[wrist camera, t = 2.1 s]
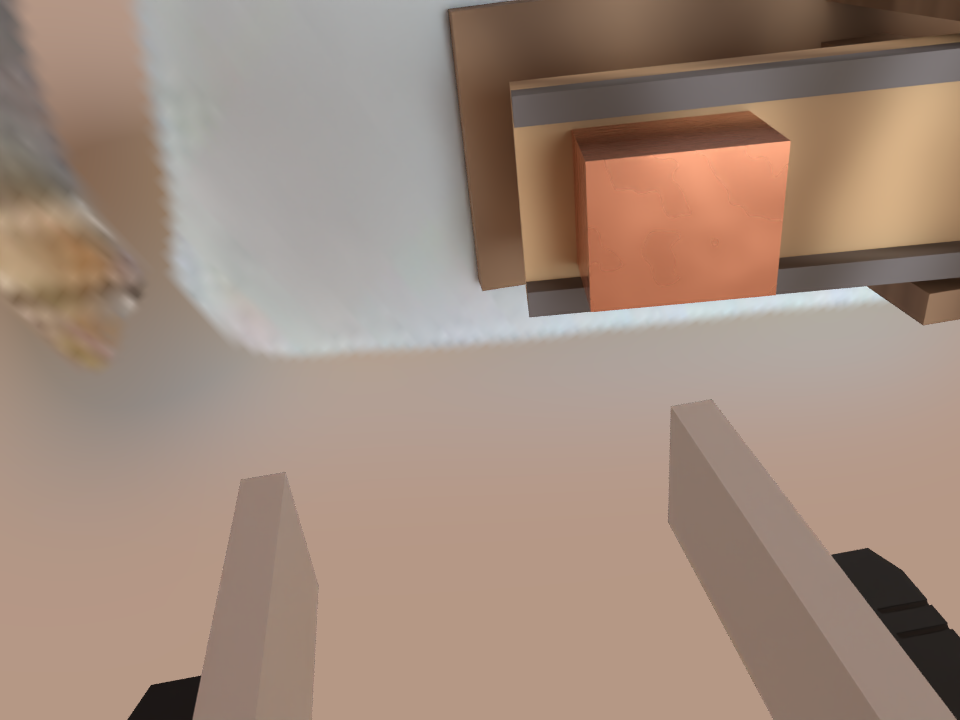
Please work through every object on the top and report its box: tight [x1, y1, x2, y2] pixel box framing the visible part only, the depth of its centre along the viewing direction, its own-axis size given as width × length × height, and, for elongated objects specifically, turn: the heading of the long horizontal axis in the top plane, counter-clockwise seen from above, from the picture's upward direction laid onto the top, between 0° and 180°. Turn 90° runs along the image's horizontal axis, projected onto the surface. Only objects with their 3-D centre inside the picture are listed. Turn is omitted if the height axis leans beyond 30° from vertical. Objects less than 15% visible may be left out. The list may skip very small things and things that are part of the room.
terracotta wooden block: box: [571, 111, 791, 312], centre depth 26 cm, size 6×5×4 cm
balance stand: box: [448, 0, 960, 325], centre depth 31 cm, size 34×12×10 cm, turn 96°
